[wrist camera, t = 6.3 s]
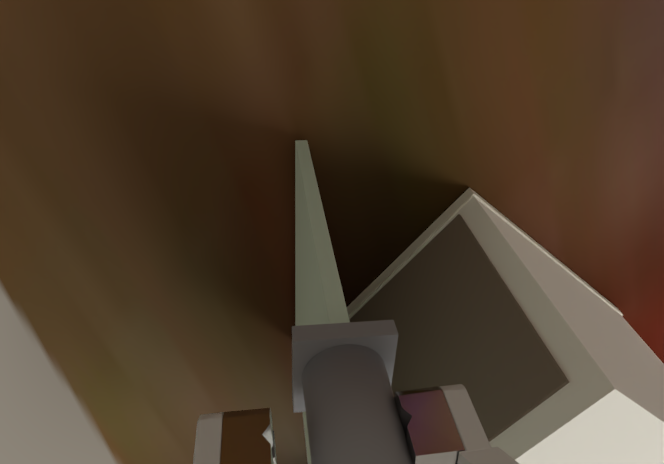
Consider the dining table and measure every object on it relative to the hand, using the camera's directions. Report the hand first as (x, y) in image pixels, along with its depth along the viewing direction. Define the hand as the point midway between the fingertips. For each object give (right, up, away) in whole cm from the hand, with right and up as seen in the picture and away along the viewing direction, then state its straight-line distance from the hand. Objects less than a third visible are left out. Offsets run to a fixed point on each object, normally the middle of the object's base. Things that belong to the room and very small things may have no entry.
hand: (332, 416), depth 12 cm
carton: (+8, -1, +18) cm, 20 cm away
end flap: (-1, +3, +14) cm, 14 cm away
